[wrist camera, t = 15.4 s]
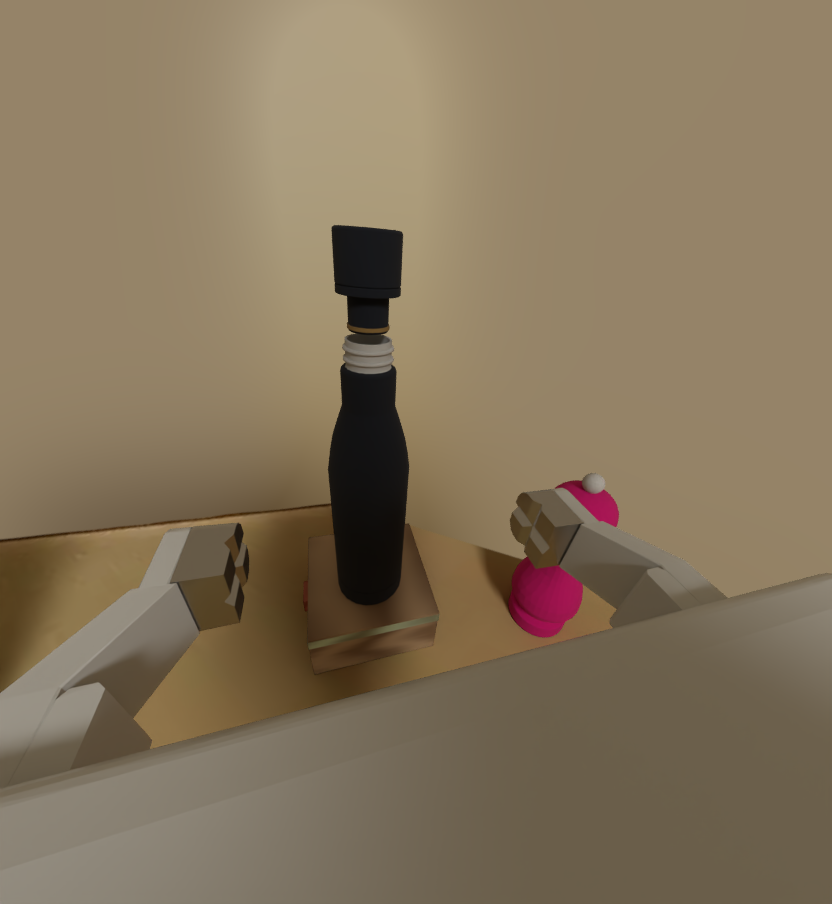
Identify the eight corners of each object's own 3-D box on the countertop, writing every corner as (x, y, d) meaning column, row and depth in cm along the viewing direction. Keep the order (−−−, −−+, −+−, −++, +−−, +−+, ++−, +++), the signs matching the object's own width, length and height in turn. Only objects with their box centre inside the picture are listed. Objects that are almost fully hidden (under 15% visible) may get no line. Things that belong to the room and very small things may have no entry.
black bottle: (342, 613, 30) (309, 220, 14) (334, 559, 35) (303, 224, 19) (408, 596, 32) (444, 234, 16) (392, 547, 37) (406, 233, 21)
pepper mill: (491, 599, 39) (535, 463, 29) (532, 575, 43) (585, 445, 32) (538, 655, 34) (612, 515, 24) (580, 623, 38) (662, 487, 27)
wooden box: (307, 676, 31) (300, 643, 28) (308, 568, 41) (303, 534, 38) (433, 645, 34) (439, 612, 31) (405, 552, 45) (408, 520, 41)
